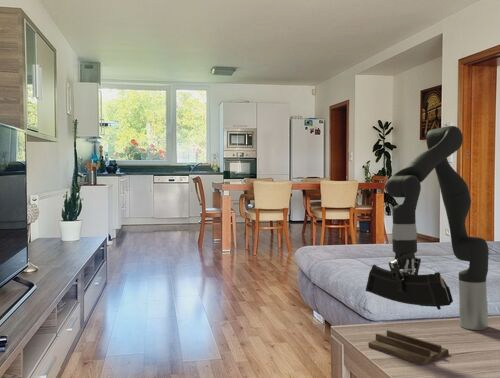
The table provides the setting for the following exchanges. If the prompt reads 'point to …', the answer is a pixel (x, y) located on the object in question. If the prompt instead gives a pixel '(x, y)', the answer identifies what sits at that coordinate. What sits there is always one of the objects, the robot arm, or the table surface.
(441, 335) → the table surface
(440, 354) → the stand
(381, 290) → the magazine
